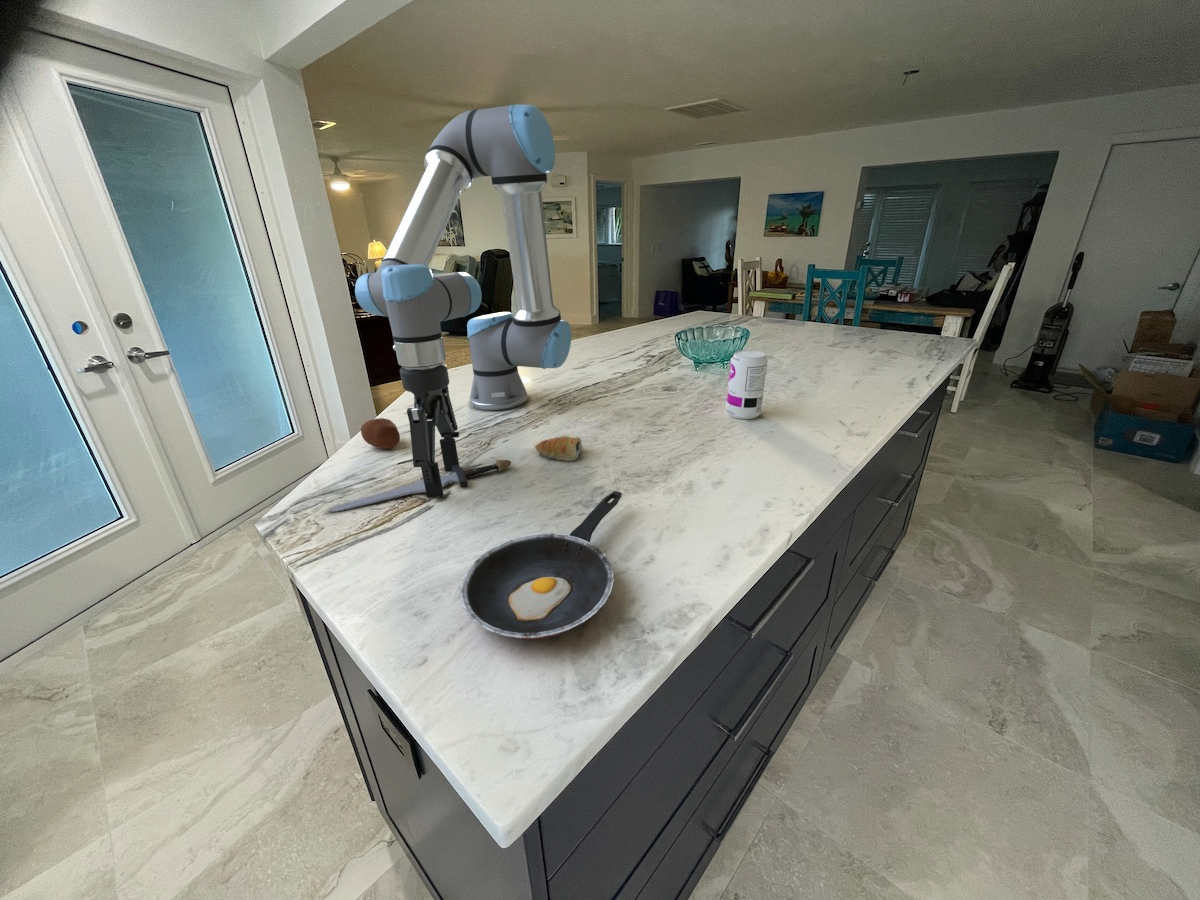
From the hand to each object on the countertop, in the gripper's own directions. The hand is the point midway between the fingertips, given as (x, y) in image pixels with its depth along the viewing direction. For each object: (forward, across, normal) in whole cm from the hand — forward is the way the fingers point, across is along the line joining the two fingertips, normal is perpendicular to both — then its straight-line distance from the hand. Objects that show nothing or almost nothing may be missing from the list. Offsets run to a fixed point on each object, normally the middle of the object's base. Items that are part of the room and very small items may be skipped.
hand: (444, 482), depth 87 cm
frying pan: (0, +24, +25) cm, 35 cm away
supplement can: (0, -32, +64) cm, 72 cm away
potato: (0, -17, -19) cm, 26 cm away
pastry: (0, -11, +21) cm, 24 cm away
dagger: (0, +2, -3) cm, 3 cm away
